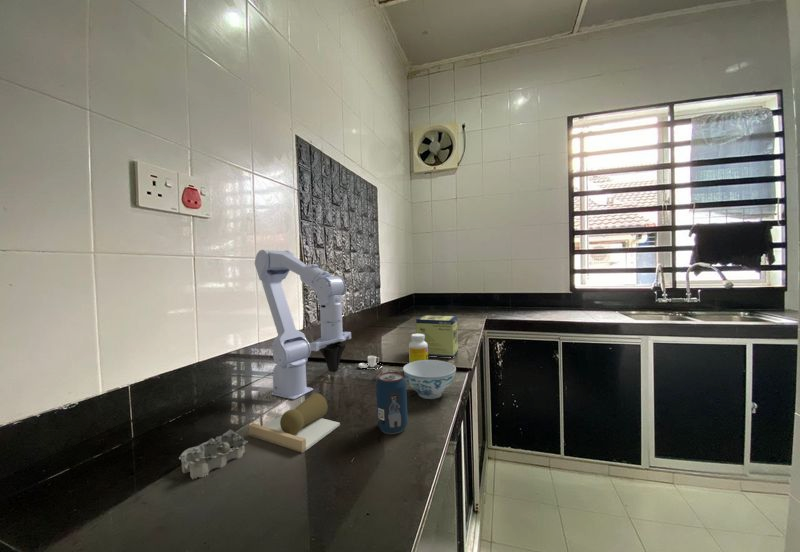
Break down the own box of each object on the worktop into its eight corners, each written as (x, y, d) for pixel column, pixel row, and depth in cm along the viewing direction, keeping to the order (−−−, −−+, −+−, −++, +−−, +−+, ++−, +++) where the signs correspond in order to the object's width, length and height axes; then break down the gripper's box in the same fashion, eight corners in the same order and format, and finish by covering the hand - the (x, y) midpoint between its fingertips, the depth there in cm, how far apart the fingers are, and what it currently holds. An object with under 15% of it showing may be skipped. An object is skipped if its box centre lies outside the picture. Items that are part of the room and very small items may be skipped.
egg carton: (193, 485, 55) (191, 462, 55) (177, 470, 59) (175, 449, 59) (250, 454, 63) (249, 435, 63) (233, 443, 67) (232, 425, 67)
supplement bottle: (429, 374, 106) (428, 336, 106) (409, 374, 106) (408, 337, 106) (427, 367, 113) (426, 332, 113) (409, 368, 113) (408, 333, 113)
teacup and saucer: (356, 370, 114) (356, 359, 113) (362, 364, 121) (362, 353, 121) (380, 371, 112) (379, 360, 112) (384, 364, 120) (384, 353, 120)
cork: (329, 417, 77) (299, 439, 66) (309, 417, 79) (277, 439, 68) (325, 392, 77) (295, 411, 67) (305, 393, 79) (273, 411, 69)
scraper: (249, 435, 70) (248, 425, 70) (290, 412, 81) (290, 403, 81) (302, 452, 63) (302, 441, 63) (339, 425, 73) (339, 415, 73)
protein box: (454, 359, 122) (453, 320, 122) (416, 356, 128) (415, 319, 127) (458, 352, 132) (457, 315, 132) (423, 350, 137) (422, 315, 137)
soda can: (393, 417, 76) (391, 369, 76) (413, 427, 71) (412, 375, 71) (371, 428, 71) (369, 376, 71) (391, 439, 67) (390, 384, 66)
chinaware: (431, 411, 79) (430, 381, 79) (393, 394, 90) (392, 368, 90) (467, 393, 89) (466, 367, 89) (429, 380, 100) (428, 356, 100)
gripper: (324, 326, 75) (327, 382, 76) (359, 317, 88) (360, 364, 89) (303, 325, 78) (305, 378, 79) (339, 316, 91) (340, 362, 92)
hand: (333, 371), depth 84 cm, fingers closed
